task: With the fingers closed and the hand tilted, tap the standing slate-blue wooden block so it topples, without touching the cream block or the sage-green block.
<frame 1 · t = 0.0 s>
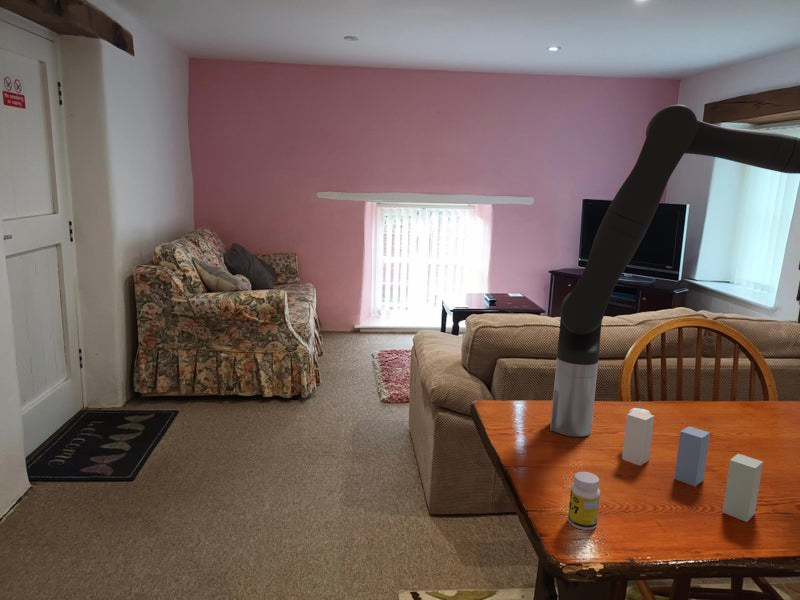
supplement bottle: (582, 523, 100), on the table
slate blue block: (688, 479, 117), on the table
sage block: (738, 513, 105), on the table
cream block: (635, 459, 125), on the table
milkshake: (635, 448, 131), on the table
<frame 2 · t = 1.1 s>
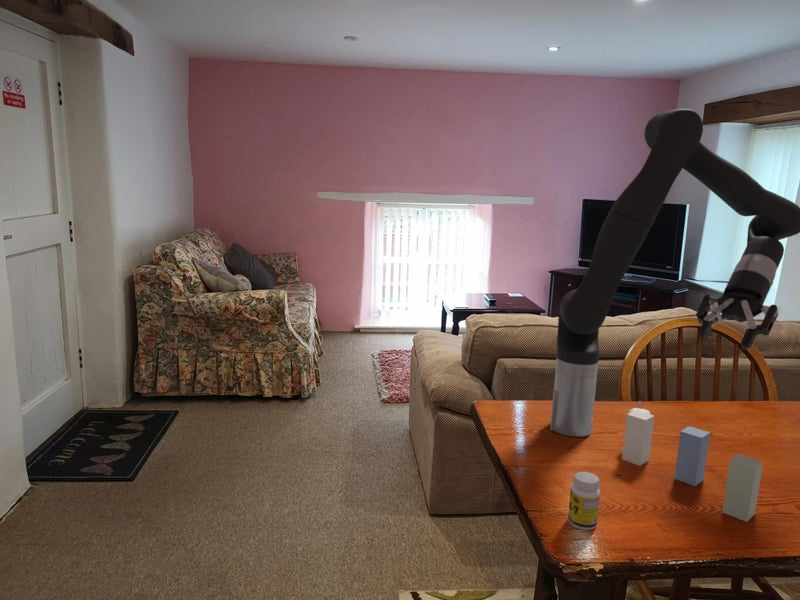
hand: (722, 343, 118), 26 cm above the table, tool tilted 45°, fingers open, 7 cm apart
nothing on the table moved.
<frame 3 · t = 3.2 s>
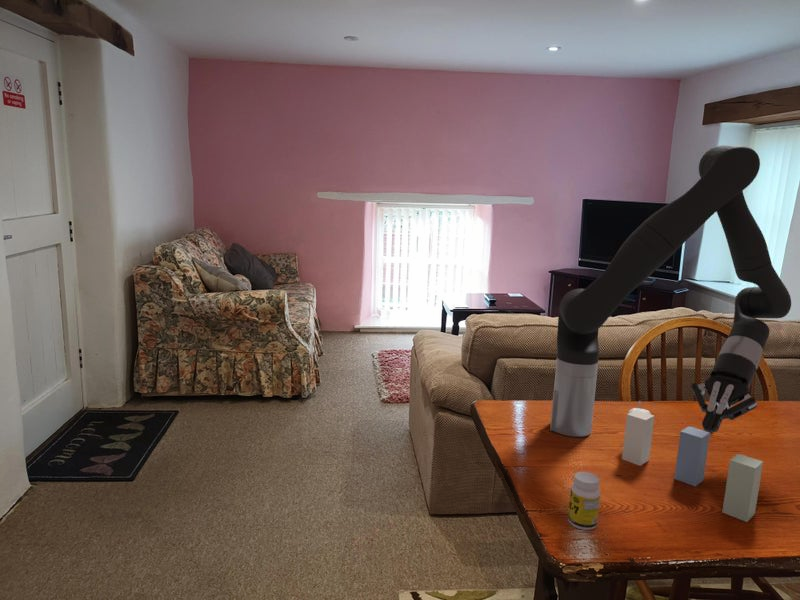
hand: (708, 431, 120), 8 cm above the table, tool tilted 45°, fingers closed
nothing on the table moved.
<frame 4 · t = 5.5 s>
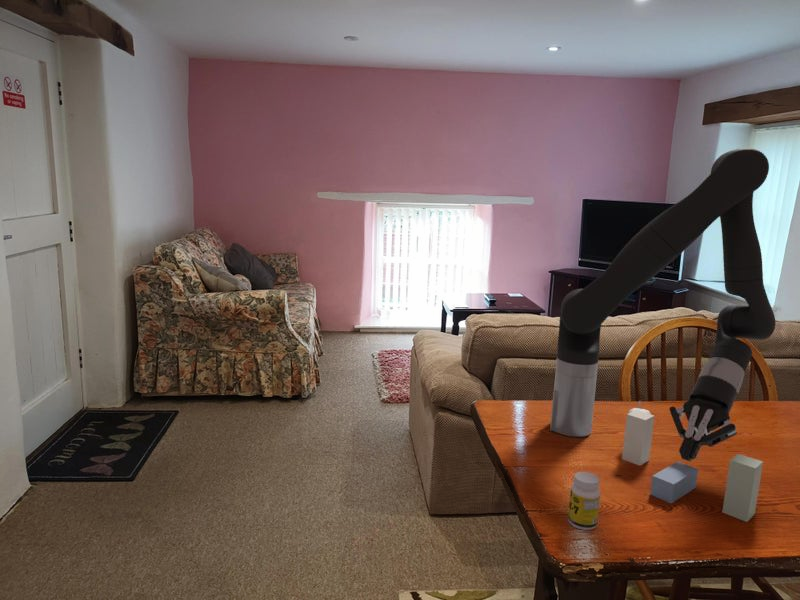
hand: (685, 458, 114), 5 cm above the table, tool tilted 45°, fingers closed
slate blue block: (686, 474, 115), point 2 cm above the table, tilted 90°
everything else where it was.
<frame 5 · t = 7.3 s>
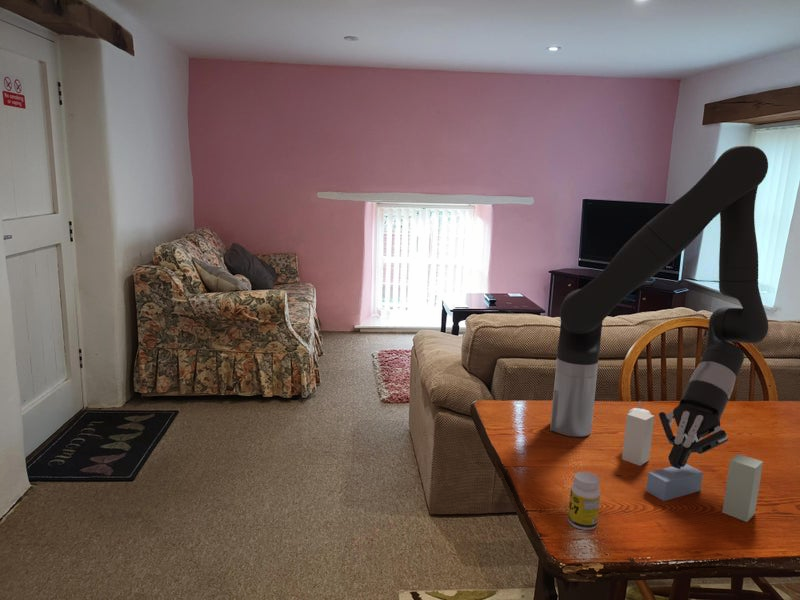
hand: (674, 465, 110), 5 cm above the table, tool tilted 45°, fingers closed
slate blue block: (692, 477, 114), point 2 cm above the table, tilted 90°
everything else where it was.
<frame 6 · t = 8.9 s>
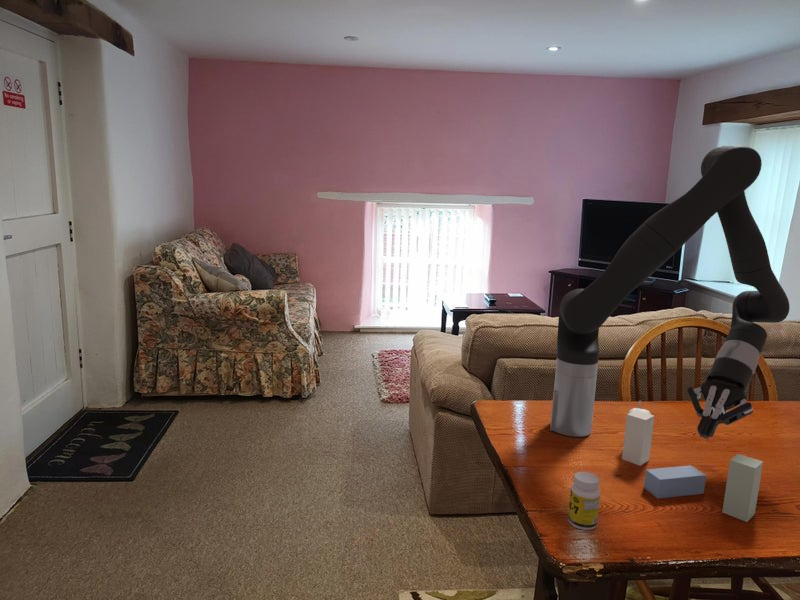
hand: (703, 436, 118), 8 cm above the table, tool tilted 45°, fingers closed
slate blue block: (697, 479, 113), point 2 cm above the table, tilted 90°
everything else where it was.
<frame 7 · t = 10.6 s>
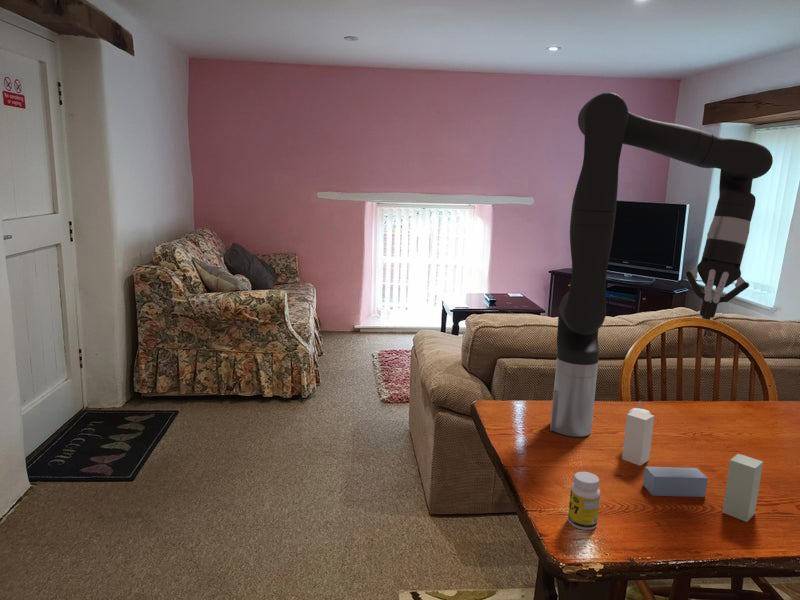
hand: (705, 319, 128), 29 cm above the table, tool pointing down, fingers closed
slate blue block: (700, 482, 112), point 2 cm above the table, tilted 90°
everything else where it was.
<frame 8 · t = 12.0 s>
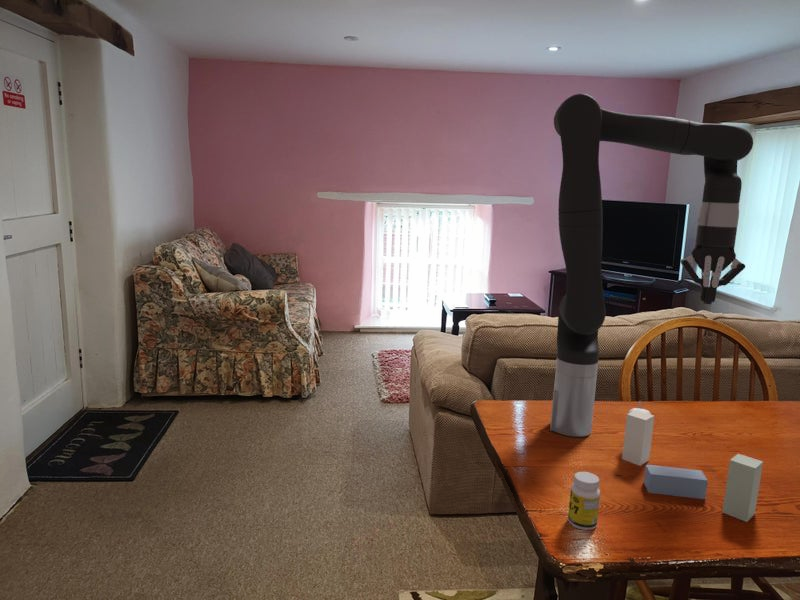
hand: (706, 303, 130), 32 cm above the table, tool pointing down, fingers closed
at the end: slate blue block tilted 90°; cream block tilted 0°; sage block tilted 0° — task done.
